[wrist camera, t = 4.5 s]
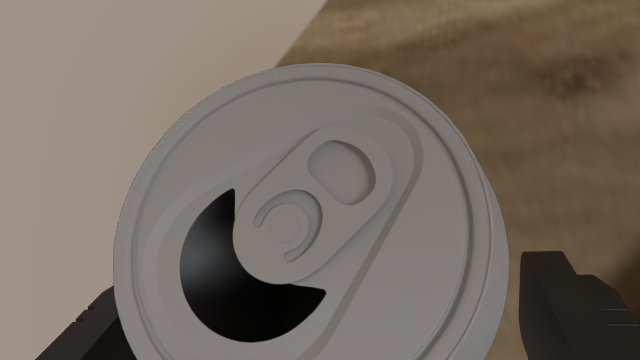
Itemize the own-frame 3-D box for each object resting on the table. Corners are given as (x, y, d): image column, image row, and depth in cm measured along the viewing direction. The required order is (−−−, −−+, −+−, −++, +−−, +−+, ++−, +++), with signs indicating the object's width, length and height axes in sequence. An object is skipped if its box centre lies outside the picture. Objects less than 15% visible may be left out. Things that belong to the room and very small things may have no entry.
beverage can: (258, 316, 18) (19, 224, 8) (374, 206, 19) (307, -19, 8) (370, 459, 16) (248, 634, 5) (499, 323, 16) (641, 214, 6)
